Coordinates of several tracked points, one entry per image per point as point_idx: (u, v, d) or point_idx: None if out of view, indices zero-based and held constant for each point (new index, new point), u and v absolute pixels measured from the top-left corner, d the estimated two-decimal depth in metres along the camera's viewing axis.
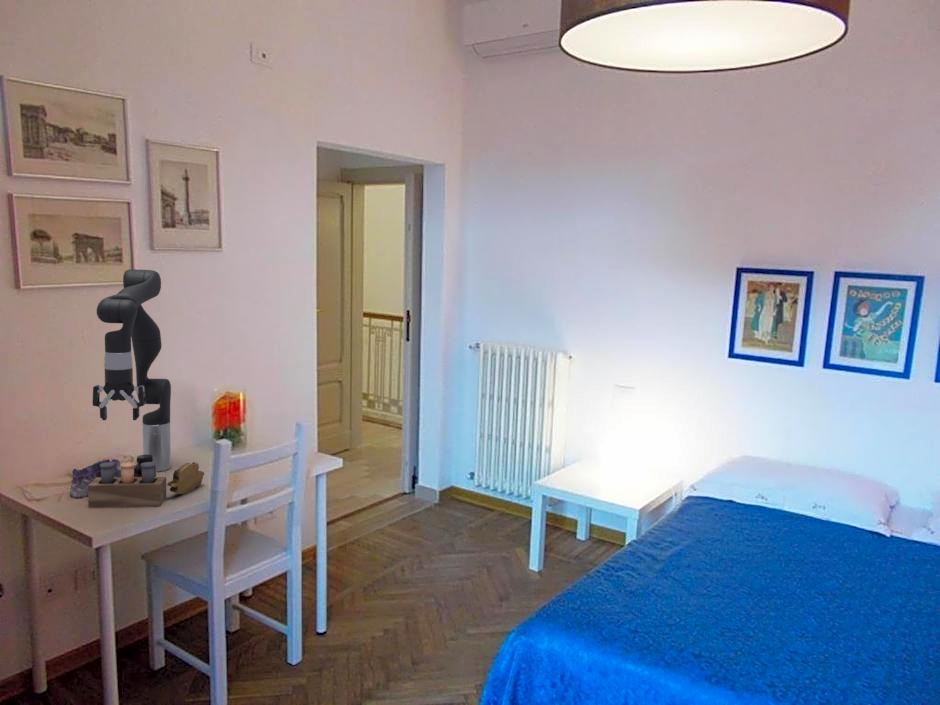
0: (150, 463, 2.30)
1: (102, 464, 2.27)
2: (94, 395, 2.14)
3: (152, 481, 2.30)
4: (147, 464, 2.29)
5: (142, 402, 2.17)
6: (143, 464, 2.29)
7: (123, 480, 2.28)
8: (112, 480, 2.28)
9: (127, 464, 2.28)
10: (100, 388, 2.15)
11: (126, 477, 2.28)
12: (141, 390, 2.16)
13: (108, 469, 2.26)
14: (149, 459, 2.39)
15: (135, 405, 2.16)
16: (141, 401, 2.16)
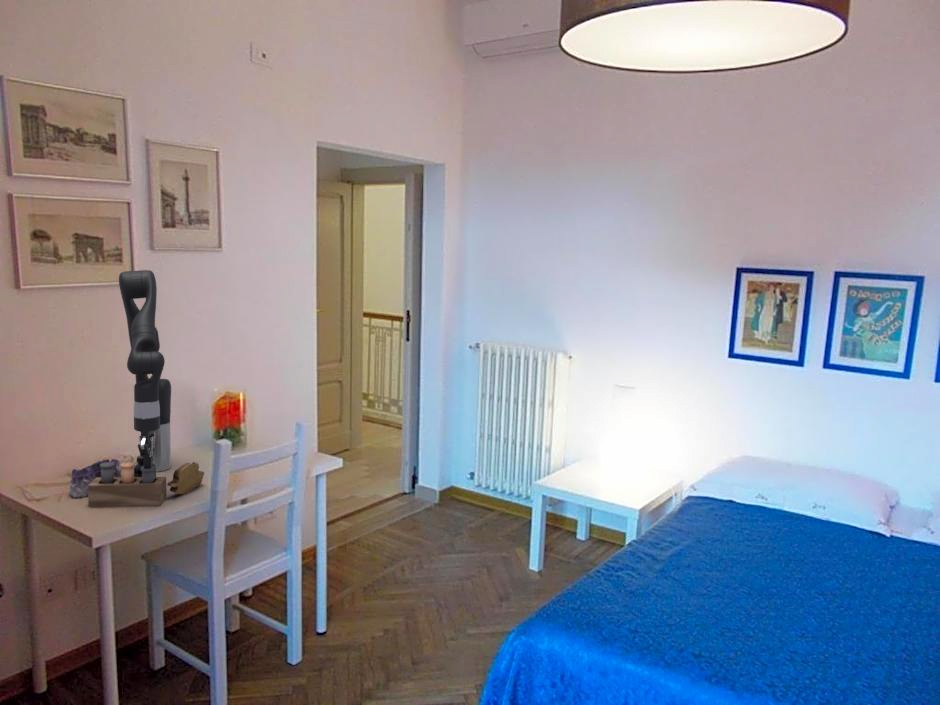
0: None
1: (102, 464, 2.27)
2: (147, 450, 2.25)
3: None
4: None
5: (154, 448, 2.33)
6: (143, 468, 2.29)
7: (123, 480, 2.28)
8: (112, 480, 2.28)
9: (127, 464, 2.28)
10: (145, 443, 2.24)
11: (126, 477, 2.28)
12: (155, 438, 2.34)
13: (108, 469, 2.26)
14: None
15: (152, 452, 2.30)
16: (153, 447, 2.32)
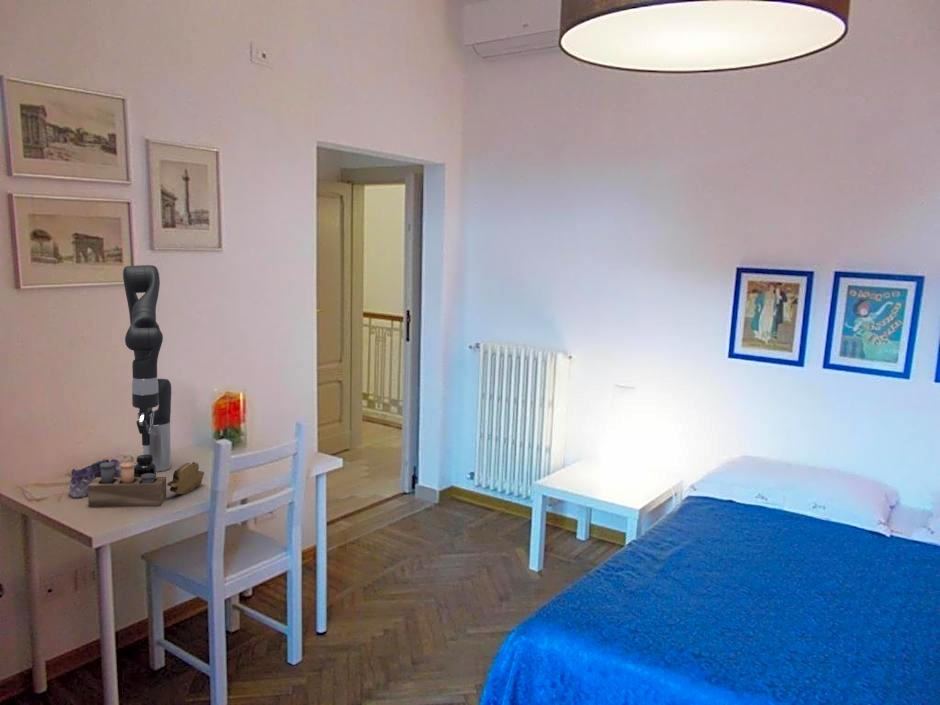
0: (150, 474, 2.31)
1: (102, 464, 2.27)
2: (146, 427, 2.24)
3: None
4: (147, 475, 2.30)
5: (152, 426, 2.32)
6: (143, 475, 2.30)
7: (123, 480, 2.28)
8: (112, 480, 2.28)
9: (127, 464, 2.28)
10: (143, 419, 2.23)
11: (126, 477, 2.28)
12: (154, 415, 2.33)
13: (108, 469, 2.26)
14: (149, 459, 2.39)
15: (150, 429, 2.29)
16: (152, 424, 2.31)
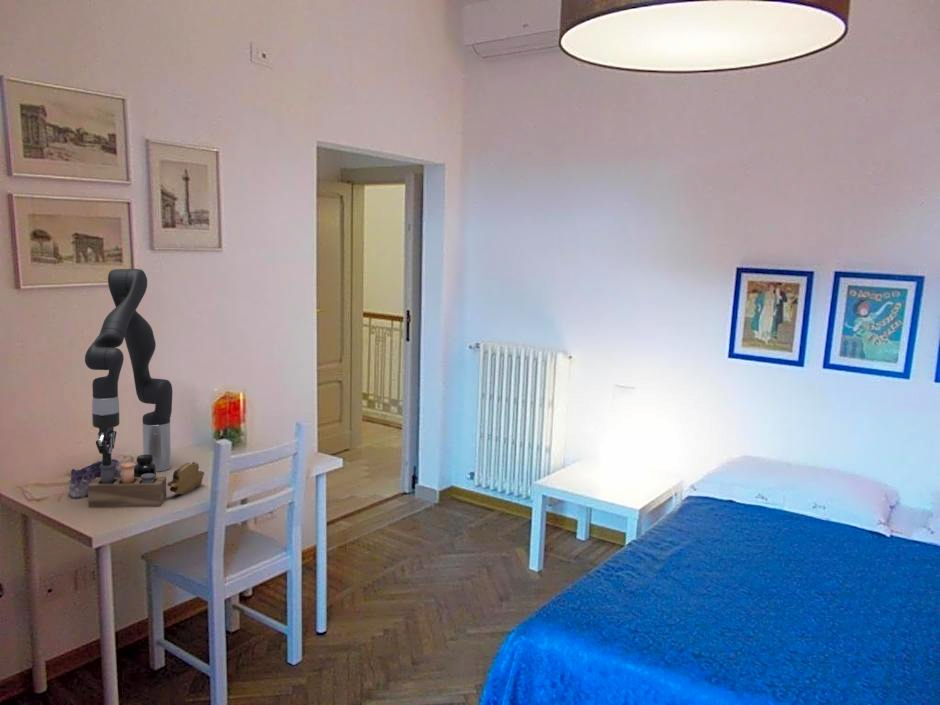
0: (150, 474, 2.31)
1: (102, 465, 2.27)
2: (106, 447, 2.23)
3: None
4: (147, 475, 2.30)
5: (113, 445, 2.30)
6: (143, 475, 2.30)
7: (123, 480, 2.28)
8: (112, 481, 2.28)
9: (127, 464, 2.28)
10: (103, 439, 2.22)
11: (126, 477, 2.28)
12: (115, 435, 2.32)
13: (108, 469, 2.27)
14: (149, 459, 2.39)
15: (111, 449, 2.28)
16: (113, 444, 2.30)
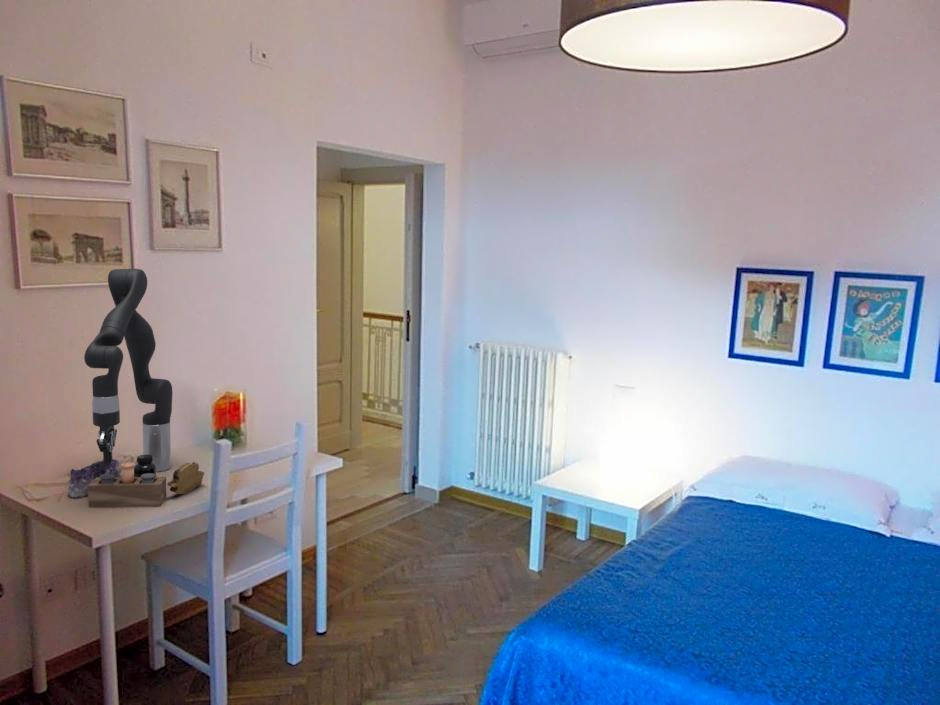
0: (150, 474, 2.31)
1: (102, 476, 2.28)
2: (107, 445, 2.23)
3: None
4: (147, 475, 2.30)
5: (114, 443, 2.30)
6: (143, 475, 2.30)
7: (123, 480, 2.28)
8: None
9: (127, 464, 2.28)
10: (104, 438, 2.22)
11: (126, 477, 2.28)
12: (116, 432, 2.32)
13: (109, 480, 2.27)
14: (149, 459, 2.39)
15: (112, 447, 2.28)
16: (114, 442, 2.30)
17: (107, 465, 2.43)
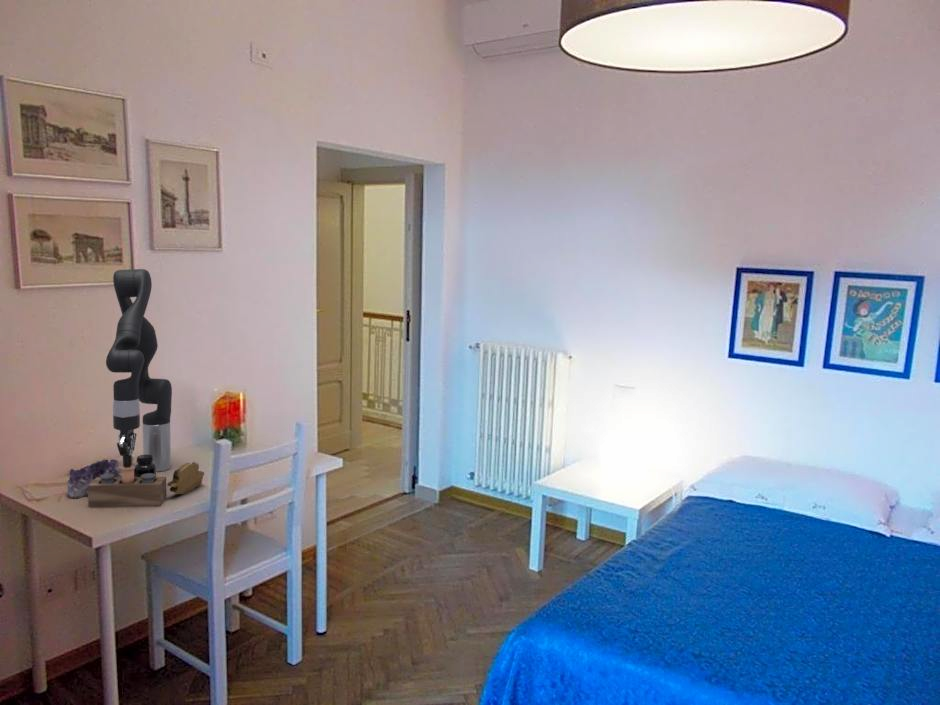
0: (150, 474, 2.31)
1: (102, 476, 2.28)
2: (127, 449, 2.24)
3: None
4: (147, 475, 2.30)
5: None
6: (143, 475, 2.30)
7: (123, 483, 2.28)
8: None
9: (127, 467, 2.28)
10: (124, 441, 2.23)
11: (126, 479, 2.28)
12: (135, 437, 2.33)
13: (109, 480, 2.27)
14: (149, 459, 2.39)
15: (132, 451, 2.29)
16: (133, 446, 2.31)
17: (107, 465, 2.43)
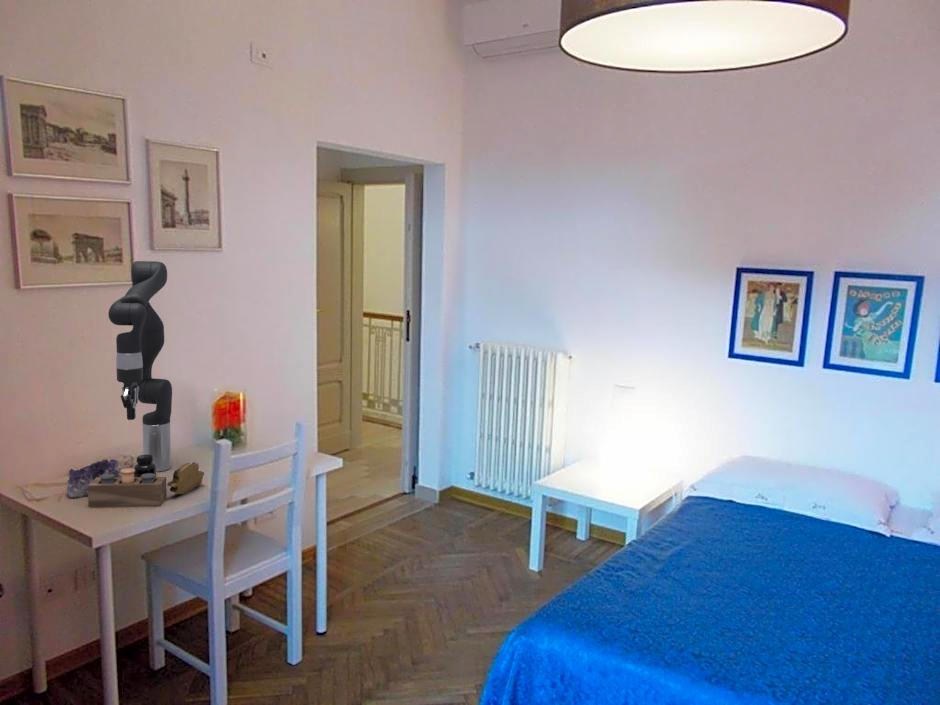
0: (150, 474, 2.31)
1: (102, 476, 2.28)
2: (131, 401, 2.26)
3: None
4: (147, 475, 2.30)
5: (137, 400, 2.34)
6: (143, 475, 2.30)
7: None
8: None
9: (127, 470, 2.29)
10: (128, 393, 2.26)
11: None
12: (139, 390, 2.36)
13: (109, 480, 2.27)
14: (149, 459, 2.39)
15: (135, 404, 2.32)
16: (137, 399, 2.34)
17: (106, 465, 2.43)
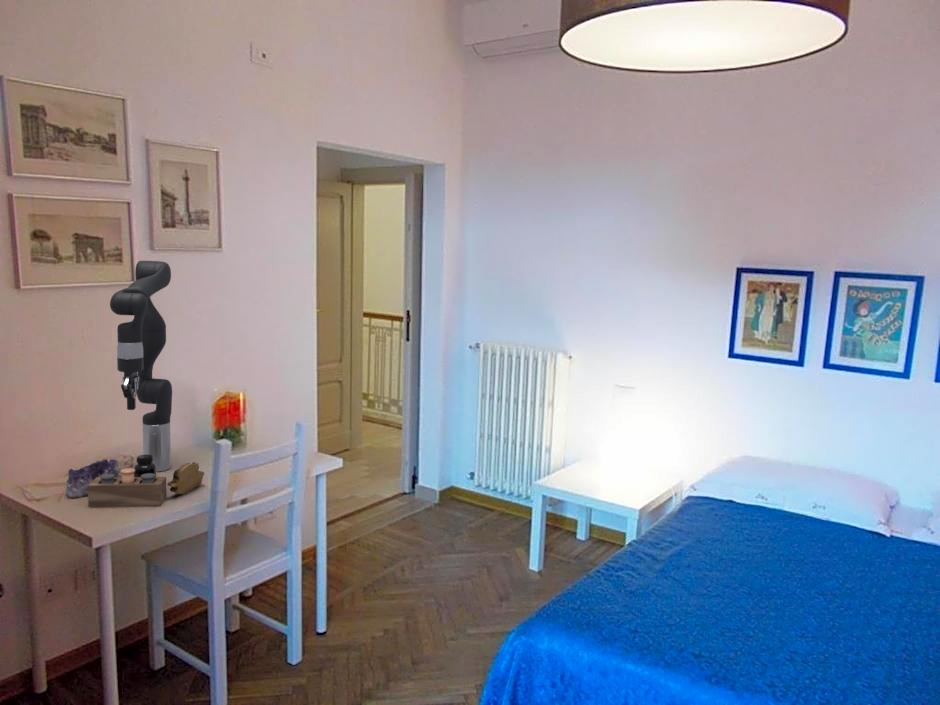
0: (150, 474, 2.31)
1: (102, 476, 2.28)
2: (131, 390, 2.27)
3: None
4: (147, 475, 2.30)
5: (137, 391, 2.34)
6: (143, 475, 2.30)
7: None
8: None
9: (127, 470, 2.29)
10: (128, 383, 2.26)
11: None
12: (139, 381, 2.36)
13: (109, 480, 2.27)
14: (149, 459, 2.39)
15: (135, 394, 2.32)
16: (137, 390, 2.34)
17: (106, 465, 2.42)
